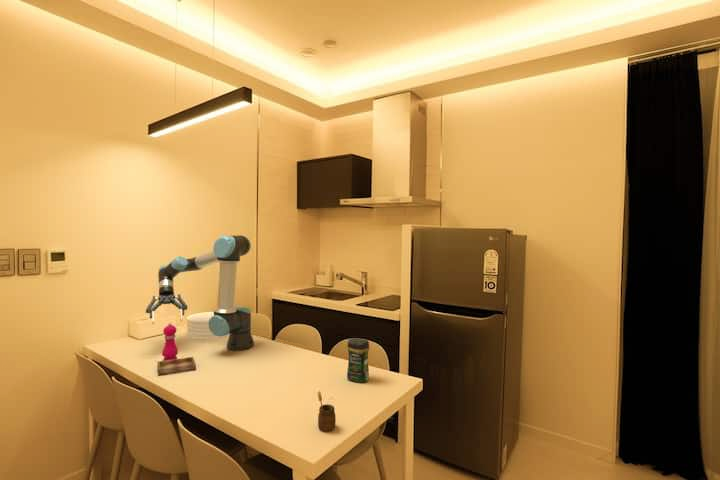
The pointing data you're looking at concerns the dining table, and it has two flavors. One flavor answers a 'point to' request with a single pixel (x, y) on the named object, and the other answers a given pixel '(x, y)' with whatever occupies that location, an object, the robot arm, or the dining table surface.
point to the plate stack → (200, 326)
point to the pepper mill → (170, 343)
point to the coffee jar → (358, 360)
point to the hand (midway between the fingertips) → (167, 321)
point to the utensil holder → (326, 416)
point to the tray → (176, 366)
